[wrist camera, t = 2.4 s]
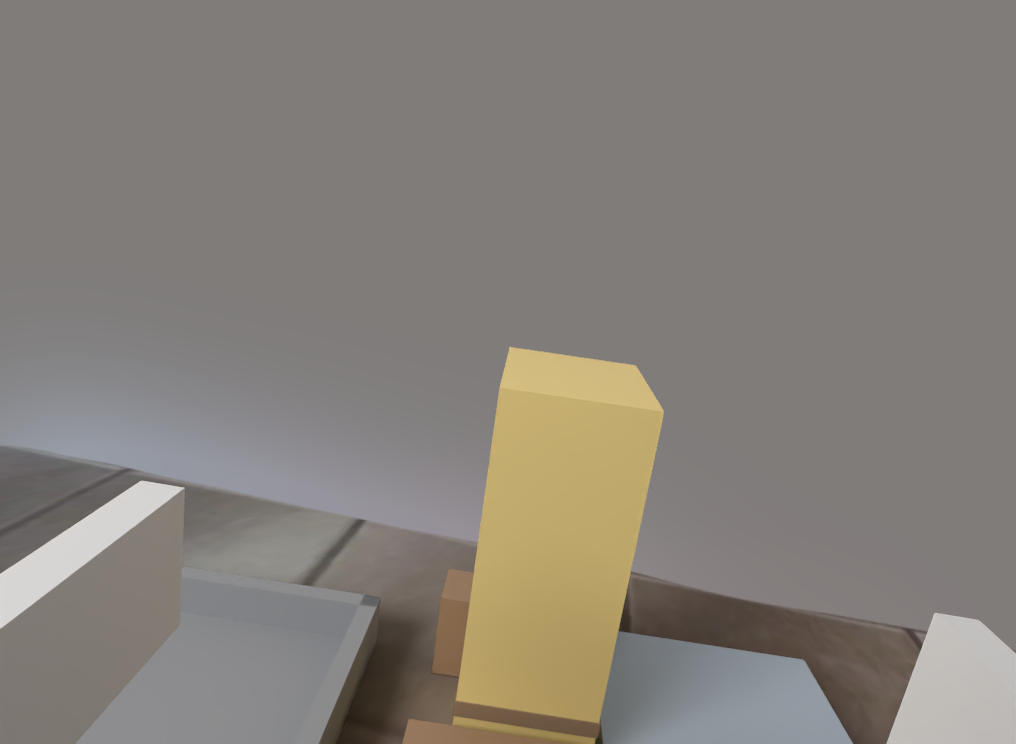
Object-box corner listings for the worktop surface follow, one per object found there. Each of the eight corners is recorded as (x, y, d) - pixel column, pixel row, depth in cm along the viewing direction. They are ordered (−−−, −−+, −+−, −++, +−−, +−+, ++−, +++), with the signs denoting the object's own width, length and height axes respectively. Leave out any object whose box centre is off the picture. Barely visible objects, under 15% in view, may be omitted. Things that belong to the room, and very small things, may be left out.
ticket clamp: (777, 691, 31) (797, 622, 30) (911, 965, 20) (951, 869, 19) (439, 639, 32) (448, 568, 31) (381, 879, 20) (392, 779, 19)
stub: (571, 702, 29) (636, 365, 25) (578, 828, 23) (666, 412, 19) (461, 685, 29) (508, 346, 25) (439, 806, 23) (497, 387, 19)
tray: (376, 641, 31) (380, 597, 30) (261, 936, 18) (264, 871, 18) (97, 598, 31) (95, 553, 30) (-207, 859, 18) (-220, 791, 18)
